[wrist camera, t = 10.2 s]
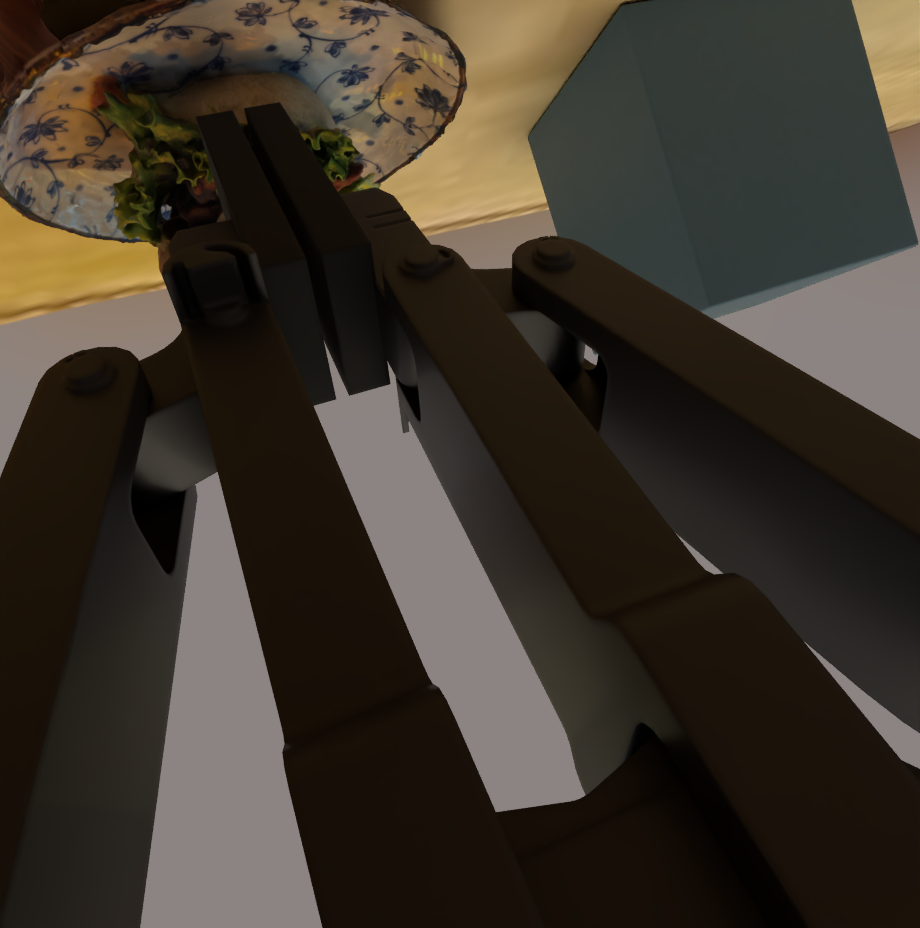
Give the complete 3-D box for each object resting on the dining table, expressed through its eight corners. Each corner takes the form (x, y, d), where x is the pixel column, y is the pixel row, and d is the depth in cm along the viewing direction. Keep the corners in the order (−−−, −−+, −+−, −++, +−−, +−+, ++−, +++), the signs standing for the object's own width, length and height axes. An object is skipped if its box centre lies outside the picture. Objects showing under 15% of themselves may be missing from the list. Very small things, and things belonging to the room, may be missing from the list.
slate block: (526, 136, 28) (593, 355, 28) (621, 3, 20) (710, 308, 20) (696, 99, 30) (756, 305, 30) (842, -35, 22) (920, 244, 22)
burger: (489, 78, 22) (559, 309, 22) (181, 219, 25) (248, 418, 26) (326, -242, 10) (478, 246, 11) (-204, 93, 14) (-72, 460, 14)
